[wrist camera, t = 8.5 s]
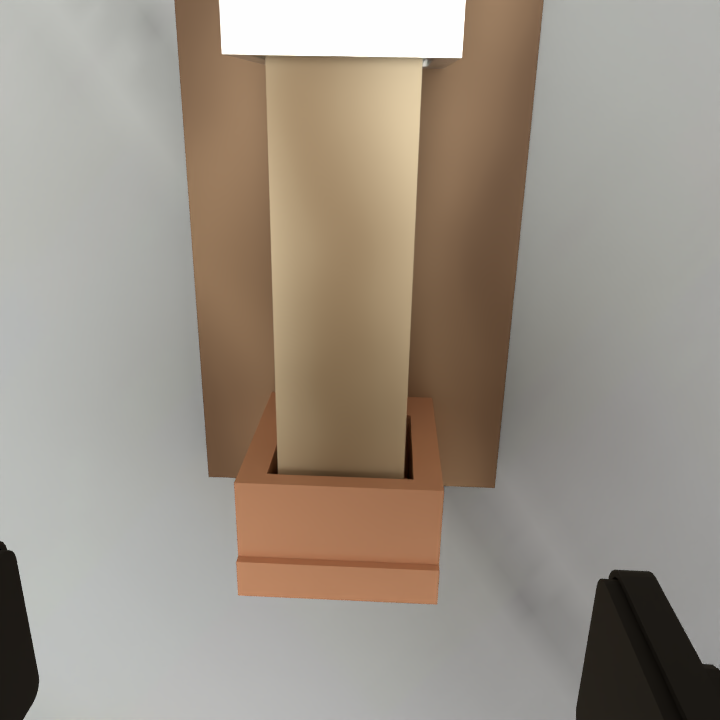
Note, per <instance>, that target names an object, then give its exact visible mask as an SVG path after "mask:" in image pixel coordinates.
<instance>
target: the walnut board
mask: <svg viewBox="0 0 720 720" xmlns="http://www.w3.org/2000/svg"><path fill="white" fill-rule="evenodd" d="M174 1H175V14H176V28H177V42H178V56H179V70H180V84H181V98H182V112H183V125H184V139H185V153H186V167H187V181H188V195H189V209H190V223H191V236H192V250H193V264H194V278H195V292H196V306H197V320H198V333H199V347H200V361H201V375H202V389H203V403H204V417H205V431H206V444H207V458H208V472H209V477H229V478H236V477H237V475H238V472H239V470H240V468H241V465H242V463H243V460H244V458H245V456H246V453H247V451H248V448H249V446H250V444H251V441H252V439H253V436H254V434H255V432H256V429H257V427H258V424H259V422H260V420H261V417H262V415H263V412H264V410H265V408H266V405H267V403H268V400H269V398H270V395H271V393H272V392H275V360H274V327H273V294H272V262H271V229H270V196H269V163H268V130H267V98H266V65H263V64H259V63H255V62H251V61H247V60H243V59H240V58H236V57H232V56H228V55H224V54H222V46H221V26H220V7H219V0H174ZM543 1H544V0H465V15H464V30H463V46H462V58H460V59H459V60H457V61H455V62H454V63H452V64H450V65H449V66H447V67H445V68H444V69H422V85H421V107H420V129H419V151H418V174H417V196H416V218H415V240H414V262H413V284H412V306H411V329H410V351H409V373H408V395H407V397H426V398H432V399H433V407H434V415H435V423H436V431H437V439H438V447H439V455H440V463H441V471H442V479H443V486H460V487H485V488H495V479H496V469H497V459H498V449H499V439H500V429H501V419H502V409H503V399H504V389H505V379H506V369H507V359H508V349H509V339H510V329H511V319H512V309H513V299H514V289H515V279H516V270H517V260H518V250H519V240H520V230H521V220H522V210H523V200H524V190H525V180H526V170H527V160H528V150H529V140H530V130H531V120H532V110H533V100H534V90H535V80H536V70H537V60H538V50H539V41H540V31H541V21H542V11H543Z"/></svg>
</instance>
